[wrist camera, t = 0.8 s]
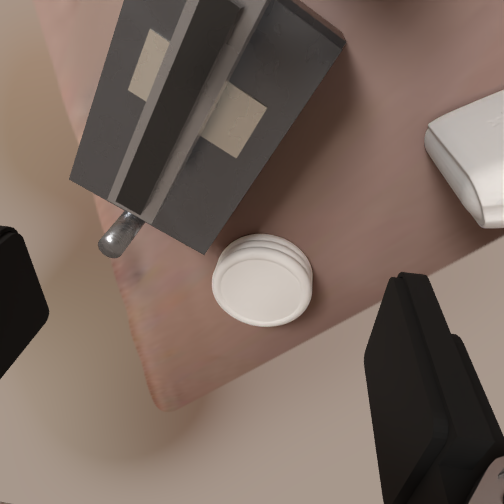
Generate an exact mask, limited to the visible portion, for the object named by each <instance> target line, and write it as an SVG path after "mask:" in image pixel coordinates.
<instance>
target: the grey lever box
mask: <svg viewBox="0 0 504 504" xmlns="http://www.w3.org/2000/svg"><path fill="white" fill-rule="evenodd" d="M186 1H187V0H124V2H123V5H122V9H121V12H120V15H119V18H118V22H117V25H116V28H115V31H114V35H113V38H112V41H111V44H110V48H109V51H108V54H107V57H106V61H105V64H104V67H103V70H102V74H101V77H100V80H99V83H98V87H97V90H96V93H95V96H94V100H93V103H92V106H91V109H90V113H89V116H88V119H87V122H86V126H85V129H84V132H83V135H82V139H81V142H80V145H79V148H78V152H77V155H76V158H75V161H74V165H73V168H72V171H71V175H70V178H69V180H71V181H73V182H75V183H77V184H78V185H80V186H82V187H84V188H85V189H87V190H89V191H91V192H93V193H94V194H96V195H98V196H100V197H101V198H103V199H105V200H107V199H108V196H109V194H110V191H111V189H112V186H113V184H114V181H115V179H116V176H117V174H118V171H119V169H120V166H121V164H122V161H123V159H124V156H125V154H126V151H127V149H128V146H129V144H130V141H131V139H132V136H133V134H134V131H135V129H136V126H137V124H138V121H139V119H140V116H141V114H142V111H143V109H144V106H145V104H146V101H147V99H148V96H149V94H150V91H151V89H152V86H153V84H154V81H155V78H156V76H157V73H158V71H159V68H160V66H161V63H162V61H163V58H164V56H165V53H166V51H167V48H168V46H169V43H170V41H171V38H172V36H173V33H174V31H175V28H176V26H177V23H178V21H179V18H180V16H181V13H182V11H183V8H184V6H185V3H186ZM345 44H346V40H345V38H344V35H343V33H342V32H341V31H340V30H338V29H337V28H336V27H334V26H333V25H332V24H330V23H329V22H328V21H326V20H325V19H324V18H322V17H321V16H320V15H318V14H317V13H316V12H314V11H313V10H312V9H311V8H309V7H308V6H307V5H305V4H304V3H303V2H301V1H300V0H271V1H270V3H269V5H268V7H267V8H266V10H265V12H264V14H263V16H262V18H261V20H260V22H259V24H258V26H257V28H256V30H255V32H254V33H253V35H252V37H251V39H250V41H249V43H248V45H247V47H246V49H245V51H244V53H243V55H242V56H241V58H240V60H239V62H238V64H237V66H236V68H235V70H234V72H233V74H232V76H231V78H230V80H229V81H228V83H227V85H226V87H225V89H224V91H223V93H222V95H221V97H220V99H219V101H218V103H217V104H216V106H215V108H214V110H213V112H212V114H211V116H210V118H209V120H208V122H207V124H206V126H205V128H204V129H203V131H202V133H201V135H200V137H199V139H198V141H197V143H196V145H195V147H194V149H193V151H192V152H191V154H190V156H189V158H188V160H187V162H186V164H185V166H184V168H183V170H182V172H181V174H180V176H179V177H178V179H177V181H176V183H175V185H174V187H173V189H172V191H171V193H170V195H169V197H168V199H167V201H166V202H165V204H164V206H163V208H162V210H161V211H160V213H159V214H158V216H157V217H156V218H155V220H154V221H153V223H152V224H150V225H151V226H153V227H155V228H157V229H159V230H160V231H162V232H164V233H166V234H167V235H169V236H171V237H173V238H175V239H176V240H178V241H180V242H182V243H184V244H185V245H187V246H189V247H191V248H192V249H194V250H196V251H198V252H200V253H201V254H203V255H205V253H206V252H207V250H208V249H209V247H210V246H211V244H212V243H213V241H214V240H215V238H216V237H217V235H218V234H219V232H220V231H221V229H222V228H223V226H224V225H225V223H226V222H227V220H228V219H229V218H230V216H231V215H232V213H233V212H234V210H235V209H236V207H237V206H238V204H239V203H240V201H241V200H242V198H243V197H244V195H245V194H246V192H247V191H248V189H249V188H250V186H251V185H252V183H253V182H254V180H255V179H256V177H257V176H258V174H259V173H260V171H261V170H262V168H263V167H264V165H265V164H266V163H267V161H268V160H269V158H270V157H271V155H272V154H273V152H274V151H275V149H276V148H277V146H278V145H279V143H280V142H281V140H282V139H283V137H284V136H285V134H286V133H287V131H288V130H289V128H290V127H291V125H292V124H293V122H294V121H295V119H296V118H297V116H298V115H299V113H300V112H301V110H302V109H303V108H304V106H305V105H306V103H307V102H308V100H309V99H310V97H311V96H312V94H313V93H314V91H315V90H316V88H317V87H318V85H319V84H320V82H321V81H322V79H323V78H324V76H325V75H326V73H327V72H328V70H329V69H330V67H331V66H332V64H333V63H334V61H335V60H336V58H337V57H338V56H339V54H340V53H341V51H342V48H343V47H344V45H345ZM107 201H108V200H107ZM109 202H110V201H109ZM110 203H112V202H110ZM112 204H114V203H112ZM114 205H115V204H114ZM116 206H117V205H116ZM117 207H119V206H117ZM119 208H121V207H119ZM121 209H123V208H121ZM123 210H124V209H123ZM145 222H146V221H144V220H142V219H140V218H139V217H137V216H135V215H133V214H132V213H130V212H128V211H126V210H125V211H124V212H123V214H122V215H121V216H120V217H119V218H118V219H117V221H116V222H115V223H114V224H113V225H112V226H111V227H110V229H109V230H108V231H107V232H106V233H105V234H104V236H103V237H102V238H101V239H100V240H99V242H98V246H99V249H100V251H101V252H102V253H103V254H104V255H106V256H107V257H110V258H118V257H120V256H121V255H122V253H123V252H124V251H125V249H126V248H127V247H128V245H129V244H130V242H131V241H132V240H133V238H134V237H135V236H136V234H137V233H138V232H139V230H140V229H141V227H142V226H143V225H144V223H145ZM146 223H148V222H146ZM148 224H149V223H148Z"/></svg>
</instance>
